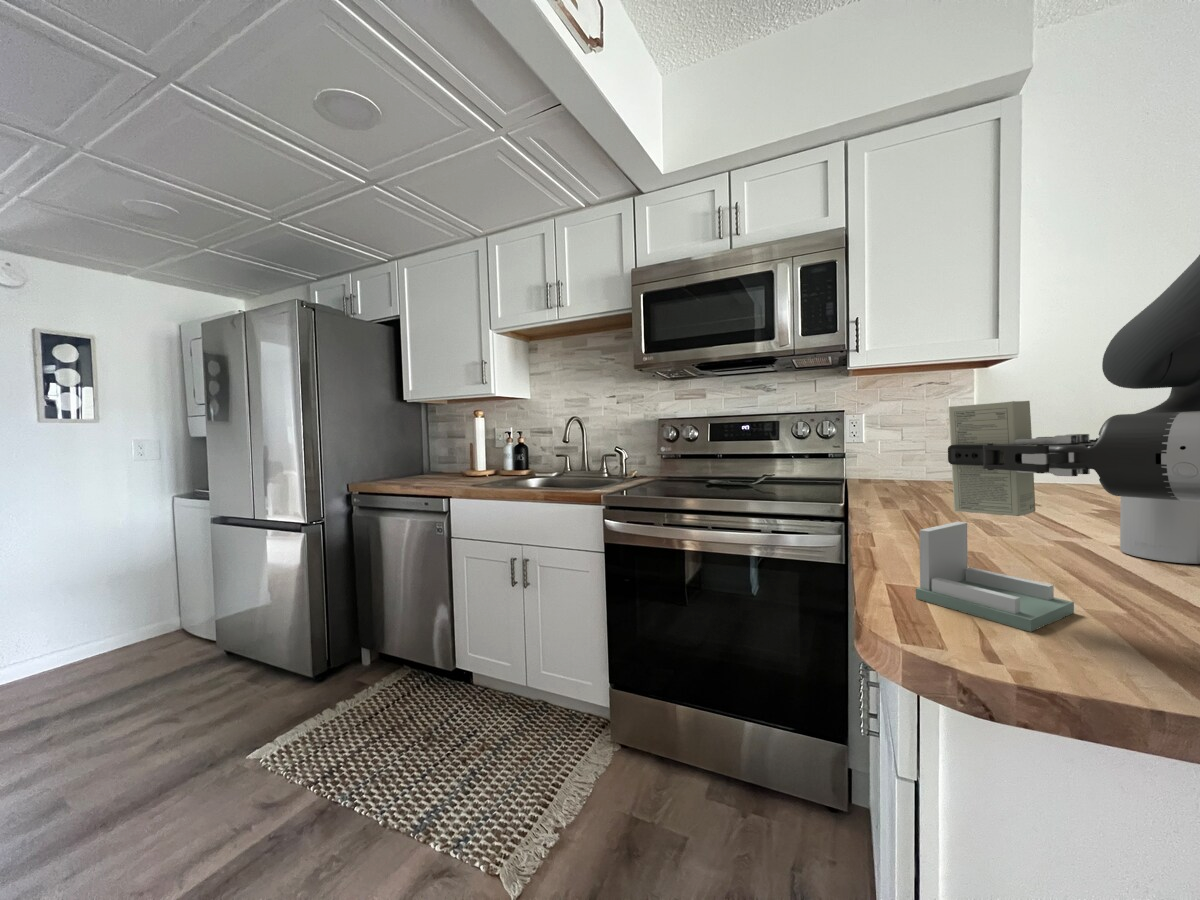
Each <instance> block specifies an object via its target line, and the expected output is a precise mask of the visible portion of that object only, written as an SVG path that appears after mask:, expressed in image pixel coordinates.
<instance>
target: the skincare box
mask: <svg viewBox="0 0 1200 900" xmlns="http://www.w3.org/2000/svg"><path fill="white" fill-rule="evenodd" d="M948 418H949V420H948V421H949V435H950V437H949V438H950V446H951V445H985V444H989V443H996V444H1013V443H1014V441H1016V440H1018V439H1030V438H1033V435H1032V423H1031V422H1032V420H1031V419H1032V417H1031V401H1030V400H1023V401H1022V400H1017V401H1015V400H1012V401H1001V402H992V403H989V402H988V403H977V404H976V403H975V404H968V405H967V404H966V405H954V406H952V405H951V406H950V405H949V406H948ZM1028 445H1031V444H1028ZM1000 462H1004V452H1003V451H1002V450H1000ZM951 472H952V473H951V474H952V476H951V477H952V478H951V479H952V489H953V490H952V493H953V494H952V495H953V510H954V512H960V513H961V512H965V513H972V514H986V515H993V516H994V515H996V516H1008V517H1009V516H1010V517H1011V516H1012V517H1022V516H1027V515H1029V514H1031V513H1035V512H1036V499H1035V498H1036V495H1035V494H1036V493H1035V473H1019V472H1016V471H1012V470H997V469H994V470H988V469H983V466H981V465H952V464H951Z"/></svg>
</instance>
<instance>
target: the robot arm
mask: <svg viewBox="0 0 1200 900" xmlns="http://www.w3.org/2000/svg"><path fill="white" fill-rule="evenodd" d="M1101 368H1102V373H1103V375H1104V377H1105V379H1106V380H1107V381H1108V382H1109V383H1111V384H1112V385H1114V386H1116V387H1119V388H1123V389H1134V390H1135V389H1136V390H1138V389H1142V390H1143V389H1144V390H1146V389H1163V388H1166V389H1167V388H1171V389H1170V393H1169V396H1168V398H1166V400H1164V401H1163V402H1161V403H1160V404H1158V405H1156V406H1154V407H1151V408H1148V409H1146V410H1143V411H1140V412H1137V413H1127V414H1125V413H1123V414H1115V415H1112V416H1110V417H1108V418H1107V419H1106V420H1105V421H1104V422H1103V424H1102V426H1101V427H1100V429H1099V431H1098V436H1099V437H1097V438H1094V439H1090V434H1089V433H1075V434H1074V433H1073V434H1070V433H1069V434H1061V435H1060V434H1059V435H1055V436H1037V437H1035V438H1033V437H1032V438H1030V439H1018V440H1016V441H1014V443H1013V444H996V443H989V444H985V445H951V444H950V445H949V446H948V448H947V462H948V463H949V464H950V465H951V466H952V465H981V466H983V469H988V470H994V469H997V470H1012V471H1016V472H1019V473H1034V474H1052V475H1053V476H1056V477H1079V475H1090V474H1091V470H1093V471H1095V472H1096V474H1097V475H1098V477H1099V483H1100V484H1101V485H1100V486H1101V487H1102V488H1103V489H1104V491H1106V492H1107V493H1108V494H1109V495H1112V496H1114V497H1115V496H1116V497H1120V517H1119V519H1120V520H1119V521H1120V524H1119V527H1120V528H1119V531H1120V532H1119V542H1120V543H1119V550H1120V551H1121V552H1122V553H1124V554H1127V555H1130V556H1134V557H1138V558H1143V559H1148V560H1154V561H1161V562H1166V563H1178V564H1196V565H1200V254H1199V255H1198V256H1197V257H1196V258H1195V259H1194V260H1193V262H1192V263H1191V264H1189V265H1188V267H1187V268H1186V269H1185V270H1184V271H1183V272H1182V273H1181V274H1180V275H1179V276H1178V277H1177V278H1176V279H1175V280H1174V281H1173V282H1172V283H1171V284H1170V285H1169V286H1167V288H1166V289H1165V290H1164V291H1163V292H1162V293H1161V294H1160V295H1159V296H1157V297H1156V298H1155V299H1153V301H1152V302H1151V303H1150V304H1148V306H1146V307H1145V308H1144V309H1142V310H1141V311H1140V312H1139V313H1138V314H1137V315H1135V316H1133V318H1131V319H1130V321H1128V322H1127V323H1126V324H1125V325H1123V326H1122V327H1121V328H1120V329H1119V331H1117V332H1116V333H1115V335H1114V336H1113V337H1112V339H1111V340H1110V341H1109V343H1108V344H1107V346H1106V349H1105V351H1104V353H1103V357H1102V364H1101ZM1028 444H1031V445H1028ZM1000 450H1002V451H1003V452H1004V462H1000Z"/></svg>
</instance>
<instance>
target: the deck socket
mask: <svg viewBox="0 0 1200 900" xmlns="http://www.w3.org/2000/svg"><path fill="white" fill-rule="evenodd" d="M918 531H919V532H918V534H919V587H916V588H915V599H916V600H920V601H923V602H927V603H930V604H934V605H937V606H941V607H944V608H948V609H951V610H954V611H957V610H959V611H958V612H960V613H964V612H965V613H964V614H967V613H968V615H971V616H975V617H978V618H982V619H985V620H989V621H992V622H995V623H999V624H1002V625H1006V626H1009V627H1012V628H1016V629H1019V630H1022V631H1027V632H1031V633H1032V632H1034V631H1036V630H1035V629H1037V628H1039V627H1041V628H1043V627H1044V626H1043V625H1046V624H1048V625H1050V624H1053V623H1055V622H1056V620H1057V621H1059V620H1061V618H1062V619H1064V618H1066V617H1068V616H1071V615H1073V614H1074V613H1075V601H1072V600H1068V599H1067V600H1066V599H1064V598H1063V599H1062V598H1059V597H1054V592H1055V591H1054V584H1050V583H1045V582H1040V581H1036V580H1031V579H1028V578H1027V579H1026V578H1022V577H1017V576H1013V575H1008V574H1003V573H1000V572H993V571H989V570H985V569H979V568H976V567H968V565H969V564H968V522H965V521H954V522H950V523H946V524H941V525H936V526H932V527H927V528H922V529H919V530H918ZM1072 613H1073V614H1072ZM1070 614H1071V615H1070ZM1065 616H1066V617H1065ZM1063 617H1064V618H1063ZM1054 621H1055V622H1054ZM1052 622H1053V623H1052ZM1049 623H1050V624H1049ZM1042 626H1043V627H1042ZM1046 626H1047V625H1046ZM1039 629H1040V628H1039ZM1037 630H1038V629H1037Z"/></svg>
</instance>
